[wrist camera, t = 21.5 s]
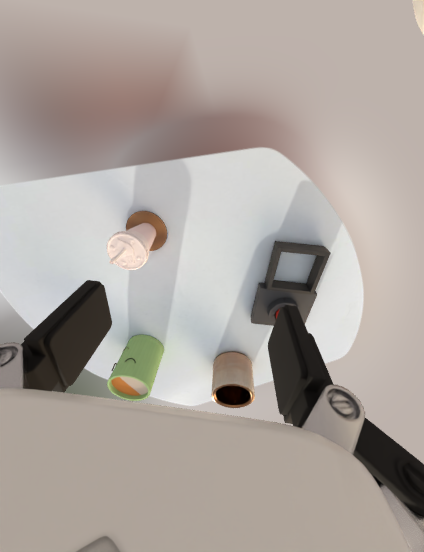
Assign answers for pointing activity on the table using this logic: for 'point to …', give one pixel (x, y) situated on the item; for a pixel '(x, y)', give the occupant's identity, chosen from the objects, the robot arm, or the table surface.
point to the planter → (232, 380)
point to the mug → (136, 368)
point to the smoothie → (131, 246)
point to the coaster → (154, 221)
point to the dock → (314, 274)
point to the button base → (278, 304)
